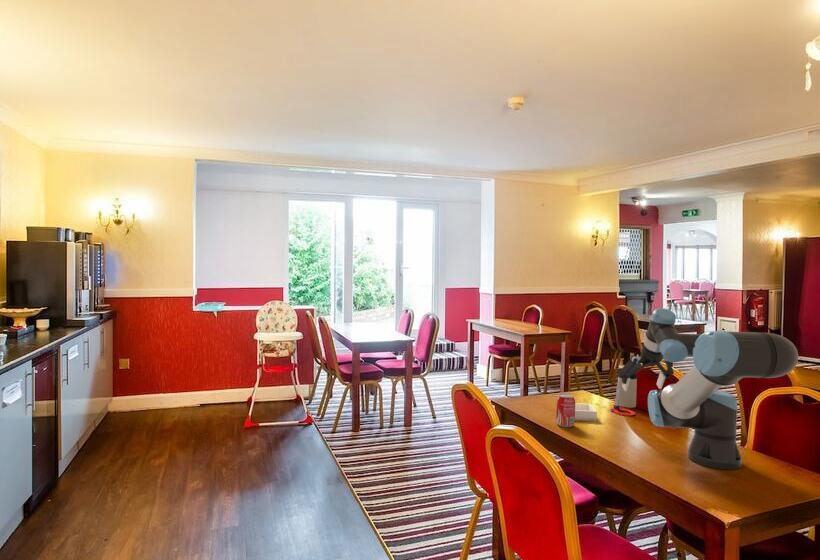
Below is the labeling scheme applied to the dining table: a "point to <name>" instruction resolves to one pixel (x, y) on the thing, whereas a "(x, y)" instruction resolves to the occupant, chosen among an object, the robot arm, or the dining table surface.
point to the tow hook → (617, 407)
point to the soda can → (565, 410)
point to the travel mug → (628, 396)
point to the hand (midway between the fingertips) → (641, 387)
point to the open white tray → (585, 412)
